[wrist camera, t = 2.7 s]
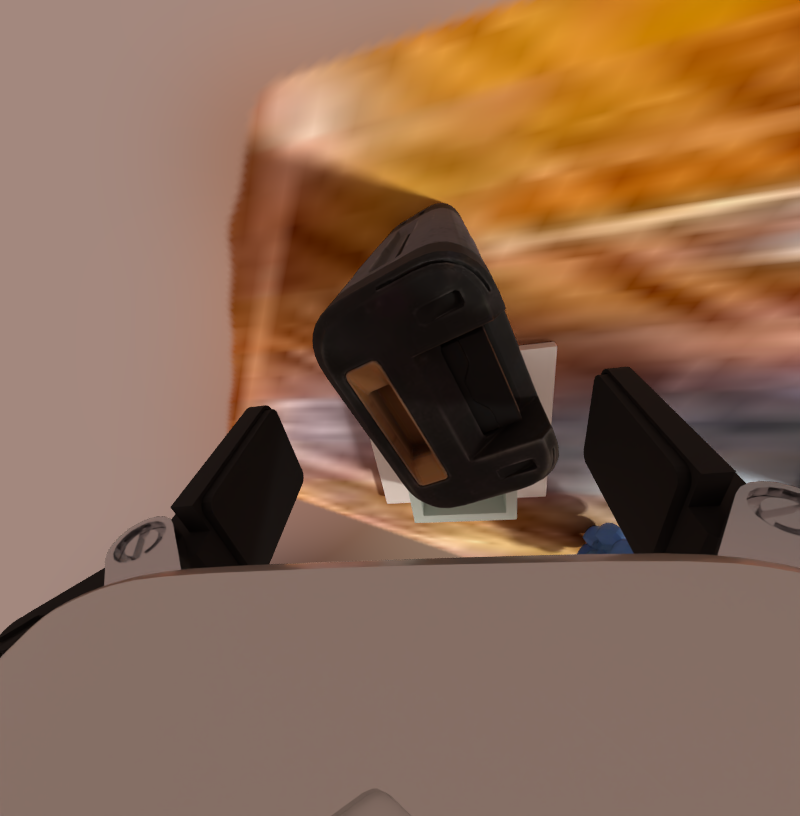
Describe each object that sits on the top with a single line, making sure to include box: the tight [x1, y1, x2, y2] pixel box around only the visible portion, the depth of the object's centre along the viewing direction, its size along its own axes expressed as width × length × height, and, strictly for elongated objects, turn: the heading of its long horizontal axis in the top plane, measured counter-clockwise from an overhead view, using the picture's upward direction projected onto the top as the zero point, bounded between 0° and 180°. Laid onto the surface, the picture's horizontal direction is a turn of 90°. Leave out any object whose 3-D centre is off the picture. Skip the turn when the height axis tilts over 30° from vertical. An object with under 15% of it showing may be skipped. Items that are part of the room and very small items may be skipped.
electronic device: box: [313, 203, 559, 508], centre depth 20 cm, size 9×6×20 cm, turn 29°
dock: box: [370, 342, 557, 523], centre depth 34 cm, size 18×18×6 cm
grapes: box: [577, 523, 634, 554], centre depth 38 cm, size 12×7×12 cm, turn 1°
